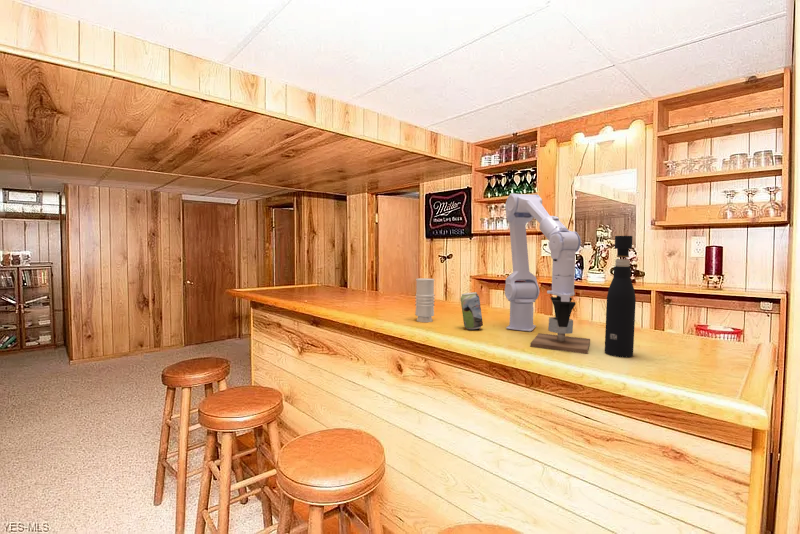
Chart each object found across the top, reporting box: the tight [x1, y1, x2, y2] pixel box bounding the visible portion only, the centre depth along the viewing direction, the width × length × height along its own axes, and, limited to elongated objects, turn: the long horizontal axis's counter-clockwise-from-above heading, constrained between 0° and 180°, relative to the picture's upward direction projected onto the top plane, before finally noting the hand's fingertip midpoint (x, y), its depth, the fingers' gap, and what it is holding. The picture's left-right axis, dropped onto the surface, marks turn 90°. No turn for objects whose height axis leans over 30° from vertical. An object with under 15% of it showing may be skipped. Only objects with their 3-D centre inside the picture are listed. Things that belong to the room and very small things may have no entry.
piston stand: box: [529, 332, 591, 355], centre depth 110 cm, size 14×14×5 cm
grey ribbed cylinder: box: [414, 277, 436, 323], centre depth 142 cm, size 7×7×15 cm
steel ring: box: [547, 316, 574, 335], centre depth 110 cm, size 6×6×4 cm
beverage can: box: [460, 291, 484, 330], centre depth 129 cm, size 6×7×12 cm
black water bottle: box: [604, 235, 637, 358], centre depth 100 cm, size 6×6×30 cm
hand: (561, 324), depth 110 cm, fingers closed on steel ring, 6 cm apart
